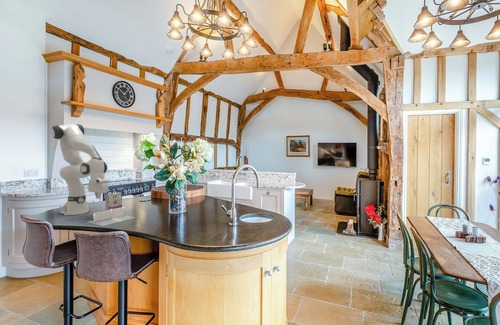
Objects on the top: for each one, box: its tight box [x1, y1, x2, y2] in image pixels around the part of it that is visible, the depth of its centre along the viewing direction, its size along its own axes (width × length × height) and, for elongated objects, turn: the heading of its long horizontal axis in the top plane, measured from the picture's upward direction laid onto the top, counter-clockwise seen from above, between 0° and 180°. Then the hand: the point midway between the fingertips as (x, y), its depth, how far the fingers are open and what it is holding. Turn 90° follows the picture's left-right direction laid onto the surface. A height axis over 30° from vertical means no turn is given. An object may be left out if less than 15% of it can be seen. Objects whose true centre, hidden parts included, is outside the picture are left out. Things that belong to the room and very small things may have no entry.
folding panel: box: [92, 210, 110, 222], centre depth 185 cm, size 2×12×6 cm, turn 150°
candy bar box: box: [104, 192, 123, 211], centre depth 207 cm, size 11×5×16 cm, turn 146°
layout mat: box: [87, 215, 136, 227], centre depth 188 cm, size 19×25×1 cm
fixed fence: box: [110, 205, 126, 219], centre depth 195 cm, size 2×12×7 cm, turn 150°
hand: (98, 198), depth 188 cm, fingers closed
